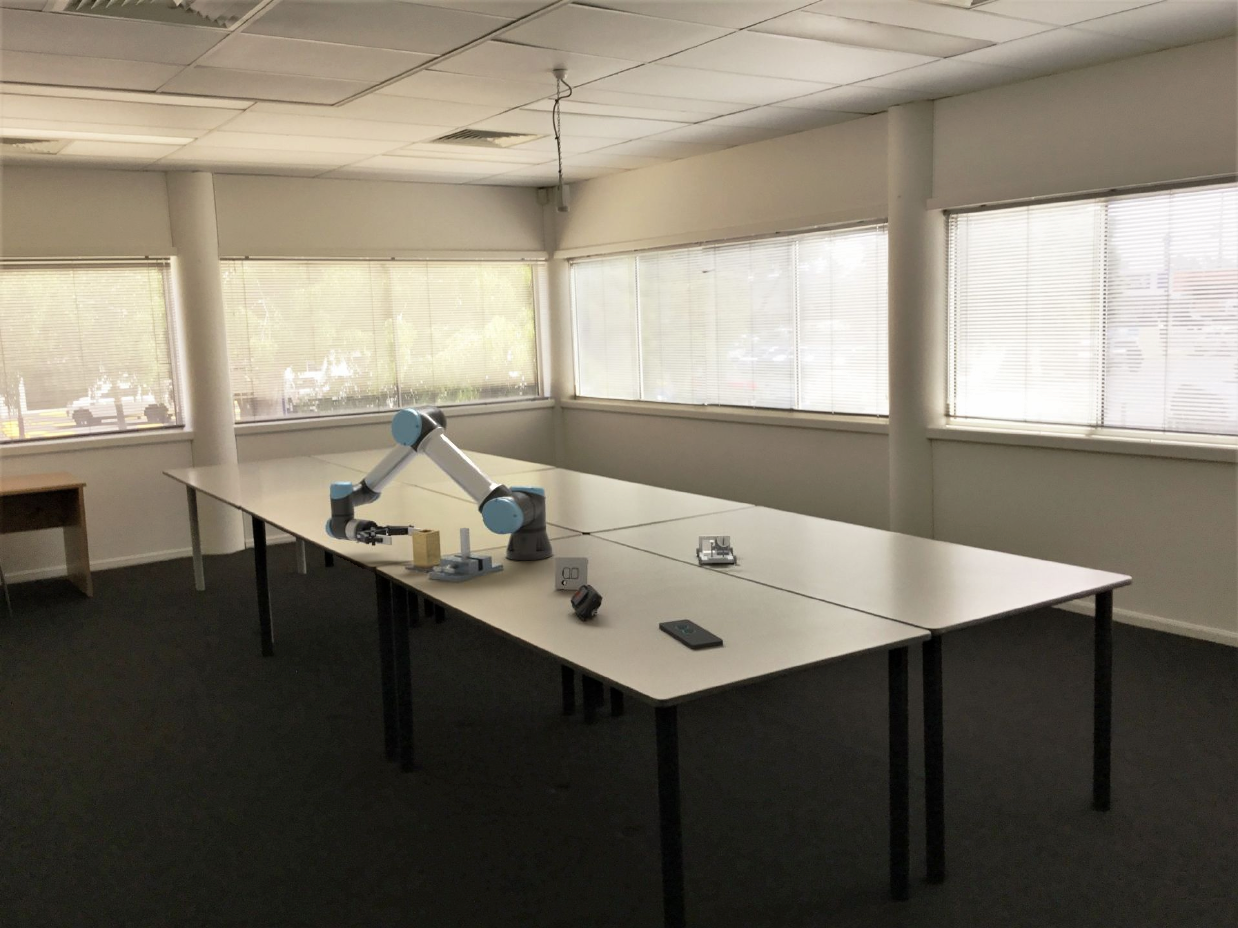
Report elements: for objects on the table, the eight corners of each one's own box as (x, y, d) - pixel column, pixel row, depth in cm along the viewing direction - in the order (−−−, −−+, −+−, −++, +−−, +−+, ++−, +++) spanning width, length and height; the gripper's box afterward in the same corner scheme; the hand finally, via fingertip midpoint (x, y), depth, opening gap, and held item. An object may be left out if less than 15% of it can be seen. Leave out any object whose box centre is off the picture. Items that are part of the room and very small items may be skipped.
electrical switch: (554, 590, 294) (554, 557, 294) (559, 587, 299) (558, 555, 299) (586, 591, 292) (586, 558, 292) (590, 588, 298) (590, 555, 297)
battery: (586, 614, 274) (565, 601, 272) (604, 589, 274) (583, 576, 271) (594, 631, 263) (572, 617, 261) (613, 605, 262) (591, 591, 260)
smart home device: (687, 618, 257) (724, 639, 239) (688, 624, 257) (724, 646, 239) (657, 622, 254) (692, 644, 236) (657, 629, 255) (692, 651, 236)
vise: (475, 564, 329) (473, 521, 328) (503, 569, 322) (501, 524, 321) (429, 578, 313) (426, 532, 312) (457, 582, 306) (455, 536, 305)
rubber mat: (428, 562, 335) (428, 560, 335) (450, 565, 329) (450, 564, 329) (405, 568, 327) (404, 566, 327) (427, 572, 321) (427, 570, 321)
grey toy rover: (737, 536, 315) (698, 537, 315) (737, 568, 316) (699, 569, 316) (731, 525, 332) (695, 526, 333) (732, 555, 334) (696, 556, 334)
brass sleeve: (427, 562, 332) (426, 528, 331) (441, 564, 328) (439, 530, 327) (413, 566, 327) (411, 532, 326) (427, 568, 324) (425, 533, 322)
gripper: (392, 535, 355) (436, 541, 342) (333, 549, 334) (377, 556, 322) (390, 513, 354) (435, 519, 341) (331, 526, 334) (376, 532, 321)
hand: (407, 537), depth 332 cm, fingers open, 13 cm apart
